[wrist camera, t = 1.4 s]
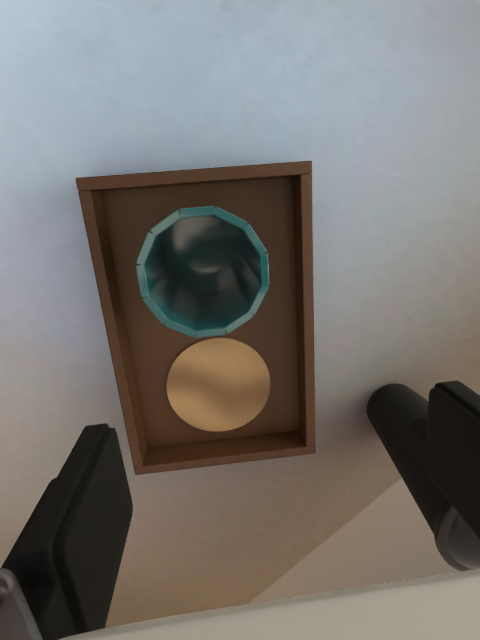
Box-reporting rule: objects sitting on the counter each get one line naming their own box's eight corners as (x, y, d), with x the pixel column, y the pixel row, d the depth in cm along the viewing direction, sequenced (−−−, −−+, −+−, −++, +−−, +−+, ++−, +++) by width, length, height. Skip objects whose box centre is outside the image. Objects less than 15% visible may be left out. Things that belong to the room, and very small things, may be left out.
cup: (153, 209, 27) (126, 212, 18) (246, 202, 27) (265, 201, 18) (166, 299, 29) (148, 343, 20) (252, 291, 29) (272, 330, 20)
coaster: (159, 342, 30) (159, 343, 30) (267, 331, 31) (267, 333, 30) (173, 435, 33) (173, 437, 32) (272, 423, 33) (272, 425, 33)
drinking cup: (339, 430, 35) (495, 701, 16) (372, 360, 33) (598, 574, 14) (407, 448, 36) (627, 718, 17) (443, 382, 34) (738, 604, 15)
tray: (89, 180, 26) (75, 178, 24) (300, 165, 27) (311, 160, 24) (141, 451, 34) (135, 475, 31) (306, 432, 35) (315, 453, 32)
